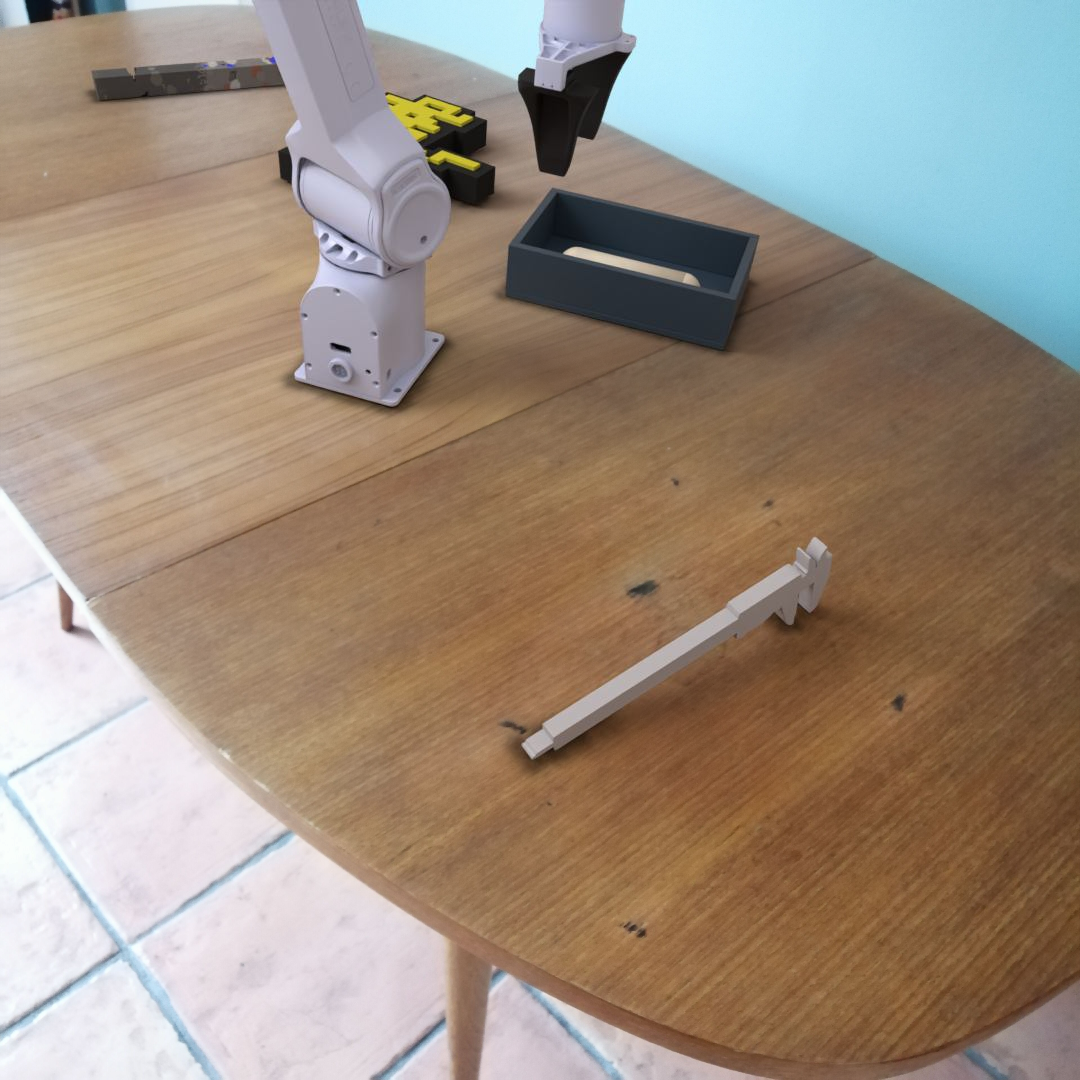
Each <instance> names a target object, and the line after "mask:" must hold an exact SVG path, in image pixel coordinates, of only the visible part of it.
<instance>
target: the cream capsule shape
mask: <svg viewBox="0 0 1080 1080" xmlns="http://www.w3.org/2000/svg"><path fill="white" fill-rule="evenodd" d="M563 254H566V255H570V256H574V257H578V258H583V259H587V260H591V261H595V262H599V263H603V264H607V265H612V266H616V267H620V268H624V269H628V270H632V271H636V272H641V273H645V274H649V275H653V276H657V277H661V278H665V279H670V280H674V281H678V282H682V283H686V284H690V285H694V286H699V287H700V284H699V282H698V280H697V279H696V278H695V277H694V276H693V275H691V274H689V273H686V272H682V271H678V270H673V269H669V268H665V267H661V266H657V265H652V264H648V263H644V262H640V261H636V260H632V259H627V258H623V257H619V256H615V255H611V254H607V253H602V252H598V251H594V250H590V249H586V248H582V247H572V248H569V249H568V250H566V251H565V252H564V253H563Z"/></svg>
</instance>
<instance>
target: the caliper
mask: <svg viewBox="0 0 1080 1080" xmlns="http://www.w3.org/2000/svg"><path fill="white" fill-rule="evenodd" d="M832 563H833V554H832V553H831V552H830V551H829V550H828V546H827V545H826V544H824V543H823V542H822V541H821V540H820V539H819V538H818V537H816V536H813V538H812V539H811V540H810V541H809V543H808V545H807V547H806V549H805V550H804V549H802V548H801V547H800V546H798V547H797V548H796V552H795V561H794V562H793V564H790V563H786V564H785V565H783V566H781V567H780V568H779V569H777V570H776V571H774V572H772V573H771V574H769V575H768V576H766V577H765V578H763V579H761V580H759V581H758V582H757V583H755V584H754V585H752V586H750V587H749V588H748V589H746V590H744V591H743V592H741V593H739V594H738V595H737V596H735V597H734V598H732V599H730V600H729V601H728V602H727V603H726V605H725V607H724V608H723V609H721V610H720V611H718V612H716V613H715V614H713V615H711V616H710V617H708V618H707V619H706V620H703V621H702V622H701V623H699V624H697V625H696V626H694V627H693V628H691V629H689V630H688V631H686V632H684V634H682V635H680V636H679V637H677V638H675V639H673V640H672V641H670V642H669V643H668V644H666V645H663V647H661V648H659V649H658V650H656V651H655V652H653V653H652V654H650V655H648V656H647V657H645V658H644V659H642V660H641V661H639V662H637V663H636V664H634V665H633V666H631V667H629V668H627V669H626V670H624V671H623V672H622V673H620V674H618V675H617V676H615V677H613V678H612V679H611V680H608V681H607V682H606V683H604V684H602V685H601V686H599V687H597V688H596V689H595V690H593V691H592V692H590V693H588V694H587V695H585V696H583V697H582V698H581V699H579V700H577V701H576V702H574V703H573V704H571V705H569V706H567V707H566V708H565V709H562V711H560V712H559V713H557V714H555V715H553V716H552V717H550V718H549V719H547V720H545V721H544V722H543V723H542V728H541V729H540V730H538V731H537V732H535V733H534V734H532V735H531V736H529V737H528V738H526V739H525V741H524V742H522V743H521V747H522V748H523V750H524V751H525V752H526V754H527V755H528V757H529V758H530V759H531V760H535V759H537V758H539V757H540V756H542V755H544V754H545V753H546V752H548V751H550V750H551V749H553V750H554V751H557V750H560V748H563V747H564V746H565V745H567V744H568V743H570V742H571V741H573V740H574V739H576V738H577V737H579V736H580V735H582V734H584V733H585V732H586V731H588V730H590V729H592V728H593V727H594V726H596V725H597V724H599V723H601V722H602V721H604V720H605V719H606V718H608V717H609V716H611V715H613V714H614V713H616V712H617V711H619V710H620V709H622V708H624V707H625V706H626V705H628V704H630V703H631V702H632V701H634V700H636V699H638V698H639V697H640V696H642V695H643V694H645V693H646V692H648V691H649V690H652V689H653V688H654V687H656V686H657V685H659V684H660V683H662V682H663V681H665V680H667V679H669V678H670V677H671V676H673V675H674V674H676V673H678V672H679V671H681V670H682V669H684V668H685V667H687V666H688V665H690V664H692V663H693V662H695V661H696V660H698V659H699V658H701V657H703V656H704V655H705V654H707V653H708V652H711V650H713V649H715V648H716V647H718V646H719V645H721V644H722V643H725V642H726V641H728V640H729V639H731V638H732V637H734V639H736V640H740V639H741V638H743V637H744V636H745V635H746V634H748V633H749V632H750V631H752V630H754V629H756V628H758V627H759V626H761V625H762V624H763V623H765V621H767V620H768V619H770V617H772V616H773V615H772V614H773V613H775V614H776V615H777V617H779V618H780V619H781V620H782V621H783V622H784V623H785V624H786V625H787V626H788V625H789V626H792V625H794V622H795V617H796V614H797V611H798V610H797V609H798V604H799V605H800V606H801V607H802V608H803V609H804V610H805V611H807V612H808V613H809V614H811V613H812V611H814V610H815V608H817V607H818V604H819V602H820V600H821V597H822V595H823V593H824V590H825V588H826V585H827V582H828V580H829V578H830V576H831V569H832Z"/></svg>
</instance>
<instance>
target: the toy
mask: <svg viewBox="0 0 1080 1080" xmlns="http://www.w3.org/2000/svg"><path fill="white" fill-rule="evenodd" d="M385 95H386V99H387V102H388V105H389V107H390V109H391V110H392V112H393V113H394V114H395V115H396V117H397V118H398V119H399V120H400V121H401V122H402V124H403V125H404V126H405V127H406V128H407V130H408V131H409V132H410V133H411V134H412V136H413V137H414V138H415V139H416V140H417V142H418V143H419V144H420V145H421V147H422V148H423V150H424V152H425V156H426V159H427V162H428V165H429V167H430V169H431V171H432V172H433V173H434V174H435V175H436V176H437V177H438V178H439V179H441V180H442V181H443V183H444V184H445V185H446V187H447V189H448V192H449V195H450V198H451V197H452V198H455V199H457V200H460V201H462V202H466V203H468V204H471V205H474V206H478V204H480V203H482V202H483V201H485V200H486V199H488V198H489V197H491V196H492V195H495V187H496V185H495V183H496V169H497V168H496V166H495V165H492V164H489V163H487V162H483V161H481V160H478V159H475V158H472V157H471V155H473V154H475V153H477V152H478V151H480V150H482V149H483V148H485V147H486V146H487V137H488V135H487V133H488V120H487V119H485V118H483V117H479V116H476V110H474V109H470V108H467V107H464V106H462V105H461V106H460V105H458V104H455V103H451V102H449V101H446V100H443V99H439V98H436V97H434V96H431V95H427V94H421V95H420V96H418V97H416V98H414V99H409V98H407V97H404V96H402V95H398V94H395V93H392V92H389V91H386V92H385ZM277 155H278V166H279V175H280V179H281V180H283V181H285V182H289V183H291V184H292V158H291V155H290V151H289V149H288V146H287V145H286V146H285V147H283V148H281V149H279V150H277Z"/></svg>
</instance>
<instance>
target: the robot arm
mask: <svg viewBox="0 0 1080 1080" xmlns="http://www.w3.org/2000/svg"><path fill="white" fill-rule="evenodd" d="M251 3H252V4H253V7H254V10H255V12H256V15H257V17H258V20H259V22H260V25H261V27H262V30H263V32H264V35H265V37H266V41H267V43H268V45H269V48H270V51H271V53H272V55H273V57H274V58H275V61H276V63H277V66H278V68H279V71H280V73H281V76H282V78H283V81H284V83H285V84H284V86H285V88H286V91H287V93H288V96H289V98H290V101H291V103H292V106H293V108H294V111H295V113H296V116H297V119H296V121H295V122H294V123H293V125H292V126H291V127H290V129H289V130H288V132H287V133H286V135H285V136H284V141H285V144H286V147H287V146H288V149H289V151H290V155H291V158H292V183H291V187H292V194H293V197H294V199H295V202H296V203H297V205H298V206H299V208H300V209H301V210H302V211H303V212H304V213H305V214H306V215H307V216H309V217H311V218H312V226H313V228H312V229H313V235H314V236H315V237H316V238H317V239H318V248H319V251H318V252H319V261H318V267H317V272H316V275H315V277H314V279H313V281H312V284H311V285H310V286H309V288H308V290H307V291H306V292H305V293H304V295H303V297H302V299H301V302H300V306H299V319H300V321H299V322H300V330H301V331H300V332H301V340H302V341H301V342H302V351H303V353H302V354H303V362H302V364H301V365H300V366H299V367H298V368H297V369H296V370H295V371H294V379H295V380H296V381H298V382H301V383H305V384H308V385H312V386H315V387H317V388H323V389H326V390H329V391H333V392H336V393H340V394H344V395H349V396H351V397H355V398H359V399H362V400H365V401H370V402H374V403H377V404H381V405H384V406H387V407H396V406H398V405H399V404H400V402H401V401H402V399H403V398H404V397H405V396H406V394H407V393H408V391H410V389H411V388H412V386H413V385H414V383H415V382H416V381H417V380H418V379H419V377H420V375H421V374H422V373H423V372H424V370H425V369H426V368H427V366H428V365H429V364H430V362H431V361H432V360H433V358H434V357H435V355H437V353H438V351H440V349H441V348H442V346H443V344H444V343H445V340H446V339H445V338H446V337H445V335H443V334H442V333H438V332H434V331H430V330H428V329H427V330H426V275H427V274H426V273H427V272H426V267H427V266H426V262H427V261H428V260H430V259H431V258H433V254H434V253H435V252H436V250H437V249H438V248H439V246H440V245H441V243H442V242H443V240H444V238H445V236H446V234H447V231H448V228H449V224H450V221H451V215H452V199H451V196H450V195H449V192H448V189H447V187H446V185H445V184H444V183H443V181H442V180H441V179H439V178H438V177H437V176H436V175H435V174H434V173H433V172H432V171H431V169H430V167H429V165H428V162H427V159H426V156H425V152H424V150H423V148H422V147H421V145H420V144H419V143H418V142H417V140H416V139H415V138H414V137H413V136H412V134H411V133H410V132H409V131H408V130H407V128H406V127H405V126H404V125H403V124H402V122H401V121H400V120H399V119H398V118H397V117H396V115H395V114H394V113H393V112H392V110H391V109H390V107H389V105H388V102H387V99H386V95H385V93H386V92H385V89H384V85H383V83H382V79H381V75H380V73H379V69H378V67H377V63H376V59H375V57H374V54H373V53H374V52H373V50H372V47H371V43H370V39H369V37H368V33H367V30H366V27H365V23H364V20H363V18H362V14H361V10H360V7H359V4H358V0H251ZM625 5H626V0H544V3H543V14H542V21H541V22H540V23H539V27H538V43H539V44H538V45H539V54H538V55H537V56H536V58H535V68H532V67H525V68H524V69H523V70H522V71H521V72H520V73H518V76H517V90H518V91H519V94H520V96H521V99H522V101H523V102H524V104H525V107H526V111H527V114H528V116H529V119H530V120H529V121H530V123H531V128H532V135H533V140H534V146H535V155H536V162H537V167H538V171H539V172H540V173H544V174H548V175H552V176H556V177H562V178H565V176H566V175H567V174H568V172H569V169H570V166H571V164H572V162H573V158H574V153H575V149H576V145H577V141H578V138H581V139H586V140H591V141H594V140H595V138H596V137H597V134H598V132H599V129H600V127H601V124H602V121H603V118H604V115H605V113H606V108H607V105H608V102H609V99H610V97H611V93H612V91H613V88H614V85H615V84H616V81H617V79H618V77H619V75H620V73H621V71H622V69H623V67H624V65H625V63H626V62H627V60H628V58H629V57H630V56H631V54H632V53H633V50H634V49H635V48H636V44H637V38H638V37H637V36H636V35H634V34H630V33H626V32H624V30H623V19H624V13H625Z"/></svg>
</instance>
